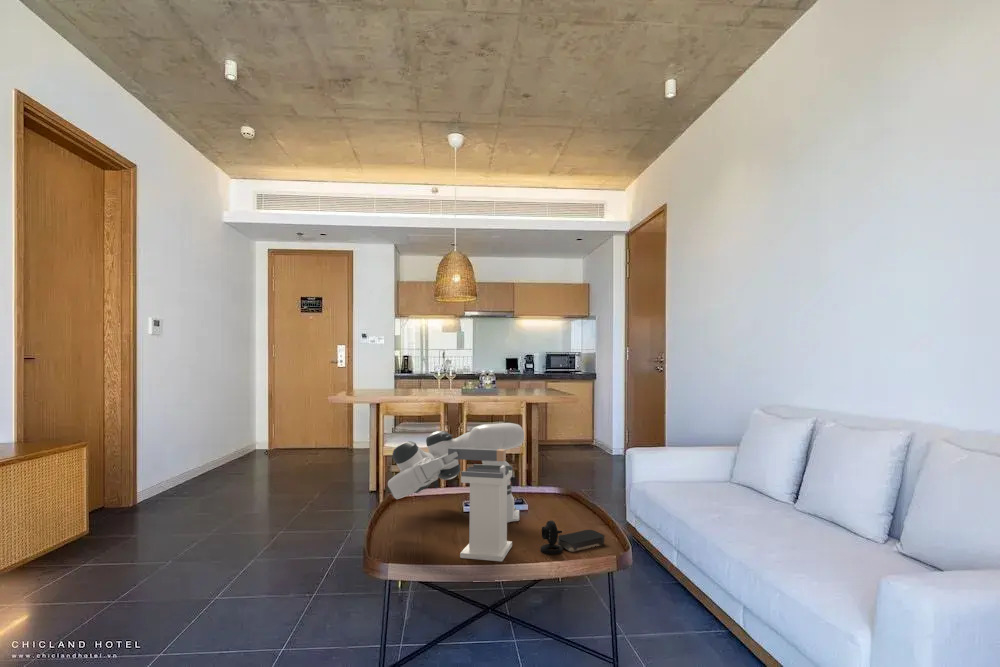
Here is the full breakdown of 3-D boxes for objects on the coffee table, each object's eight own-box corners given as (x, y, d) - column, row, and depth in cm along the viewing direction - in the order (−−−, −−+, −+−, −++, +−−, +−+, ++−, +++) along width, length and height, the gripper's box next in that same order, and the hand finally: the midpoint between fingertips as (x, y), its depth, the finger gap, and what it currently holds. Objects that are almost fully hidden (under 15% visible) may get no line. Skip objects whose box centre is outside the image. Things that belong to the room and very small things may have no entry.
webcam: (537, 548, 180) (537, 518, 181) (558, 546, 182) (557, 517, 183) (544, 555, 172) (544, 524, 173) (566, 554, 174) (565, 523, 175)
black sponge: (591, 539, 191) (590, 528, 191) (606, 545, 184) (606, 535, 184) (555, 546, 183) (555, 536, 183) (570, 554, 175) (570, 542, 176)
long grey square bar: (451, 457, 188) (451, 447, 188) (505, 459, 183) (505, 449, 183) (448, 458, 184) (448, 448, 184) (503, 461, 180) (503, 450, 180)
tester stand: (473, 542, 185) (474, 459, 187) (512, 545, 182) (512, 460, 184) (460, 557, 170) (461, 466, 172) (502, 561, 167) (502, 468, 169)
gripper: (441, 473, 197) (472, 455, 195) (421, 484, 177) (455, 465, 175) (433, 457, 198) (464, 440, 196) (412, 467, 178) (446, 448, 176)
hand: (459, 452), depth 185 cm, fingers closed on long grey square bar, 4 cm apart
